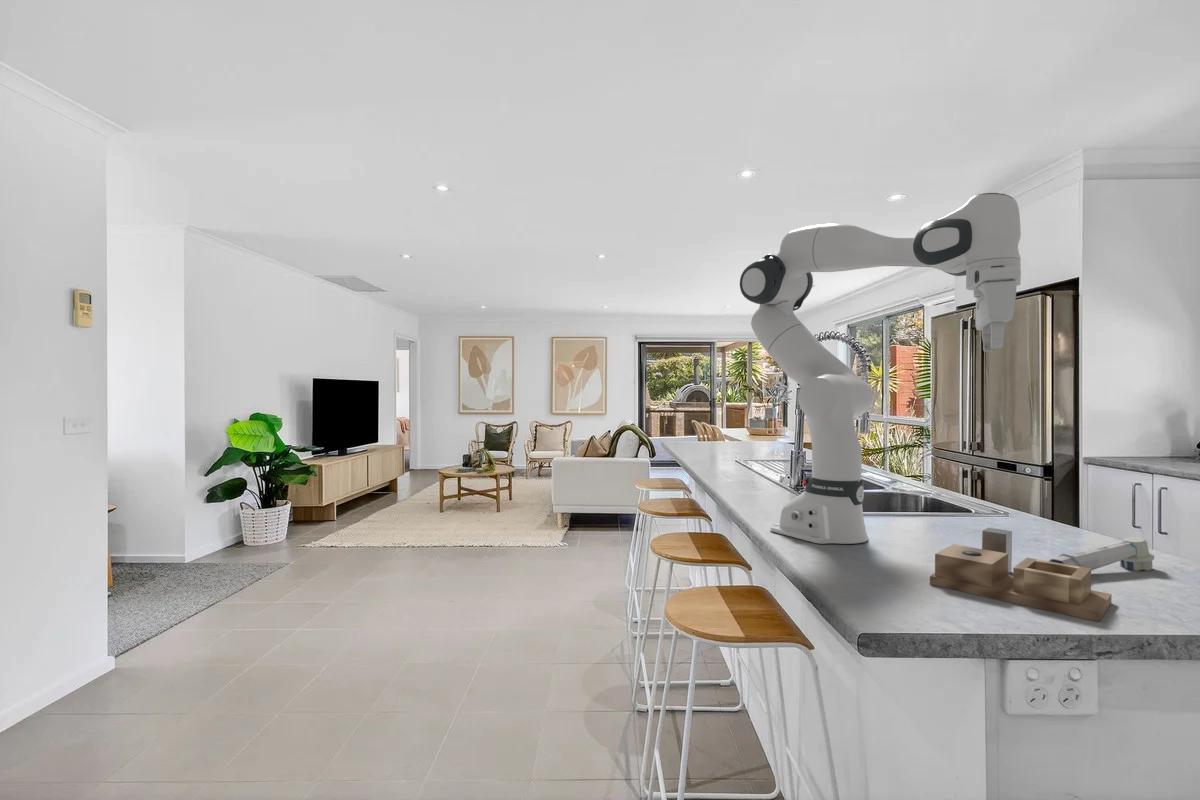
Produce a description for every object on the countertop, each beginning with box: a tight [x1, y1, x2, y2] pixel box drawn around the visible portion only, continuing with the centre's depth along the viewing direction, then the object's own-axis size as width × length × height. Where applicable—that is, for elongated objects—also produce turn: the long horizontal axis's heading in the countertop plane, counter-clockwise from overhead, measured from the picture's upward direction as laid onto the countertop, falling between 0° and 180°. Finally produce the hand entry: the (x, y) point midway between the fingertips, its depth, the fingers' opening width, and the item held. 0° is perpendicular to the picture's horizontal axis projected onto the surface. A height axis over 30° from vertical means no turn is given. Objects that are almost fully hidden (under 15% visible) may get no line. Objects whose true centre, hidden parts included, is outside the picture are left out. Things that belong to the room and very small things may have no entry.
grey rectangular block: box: [981, 527, 1013, 574], centre depth 118 cm, size 4×4×8 cm
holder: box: [929, 543, 1113, 622], centre depth 105 cm, size 24×12×6 cm, turn 43°
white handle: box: [1049, 536, 1155, 572], centre depth 118 cm, size 5×7×25 cm
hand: (992, 349), depth 117 cm, fingers open, 8 cm apart
